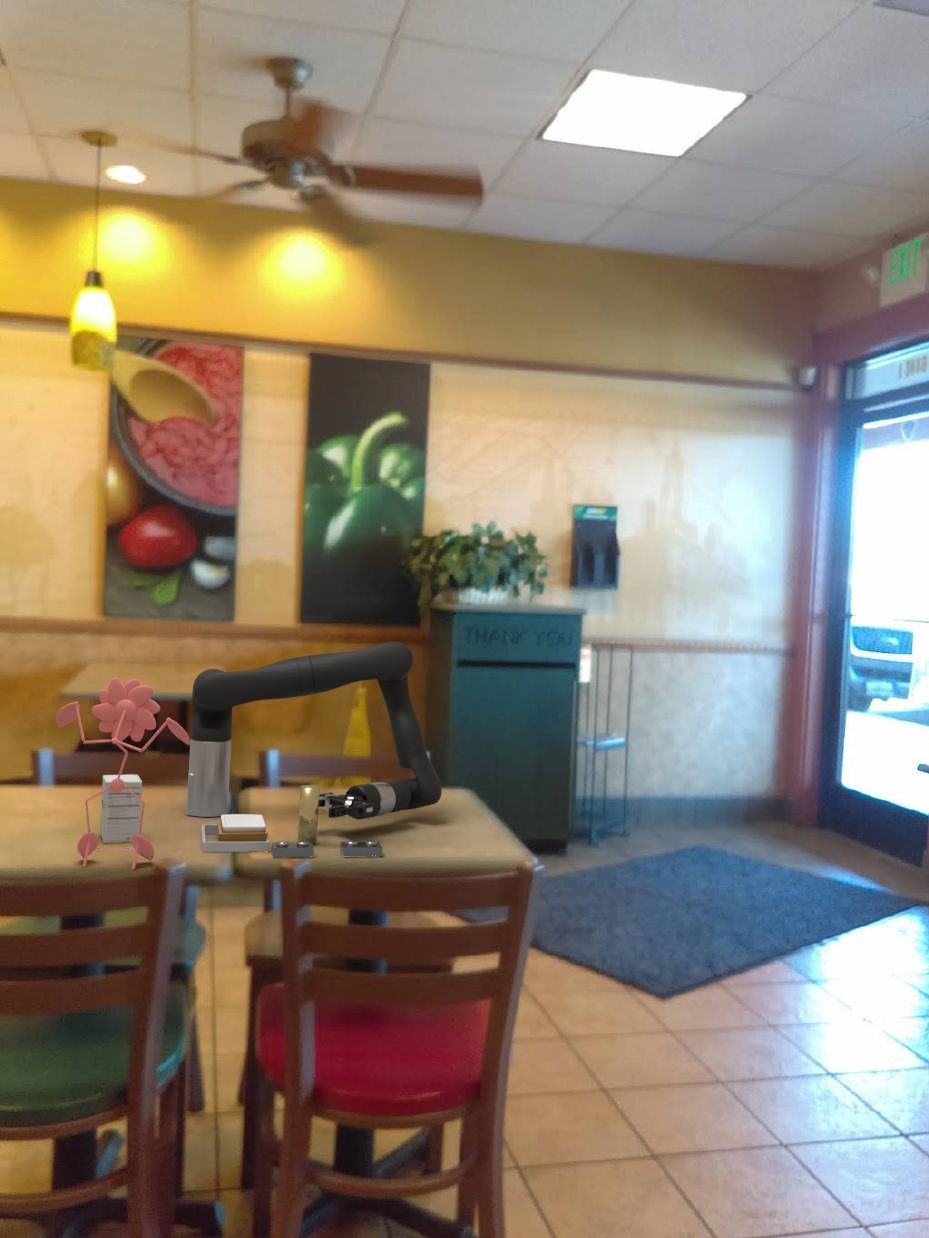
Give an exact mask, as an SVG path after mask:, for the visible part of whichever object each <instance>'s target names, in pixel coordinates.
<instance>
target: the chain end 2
mask: <svg viewBox="0 0 929 1238" xmlns="http://www.w3.org/2000/svg"><path fill="white" fill-rule="evenodd" d="M340 851H341V853H342V855H343V856H372V855H373V856H375V855H376V856H382V857H383V846H382V844H381V843H380V841H377V840H374V839H368V840H365V841H358V840H355V839H354V840H352V839H351V840H350V839H349V840H346V841H340V844H339V852H340ZM341 853H340V854H341ZM342 855H341V856H342ZM343 856H342V857H343Z"/></svg>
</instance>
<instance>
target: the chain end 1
mask: <svg viewBox="0 0 929 1238" xmlns="http://www.w3.org/2000/svg"><path fill="white" fill-rule="evenodd" d="M314 849H315V848H314V845H312V843H311V842H308V841H298V840H297V841H292V842H291V841H287V840H277V841H276V842H275V841H274V842H271V850H270V853H271V852H272V853H271V856H273V857H310V856H313V857H314ZM273 857H272V858H273Z"/></svg>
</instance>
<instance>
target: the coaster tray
mask: <svg viewBox="0 0 929 1238" xmlns="http://www.w3.org/2000/svg"><path fill="white" fill-rule="evenodd" d="M206 835H219V828H218V823H217V824H216V823H215V824H214V823H213V824H212V823H211V824H209V823H208V824H204V823H203V824H201V831H200V837H201V839H200V840H201V853H250V852H249V851H252V852H251V853H254V852H253V851H258V852H257V853H260V852H259V851H262V852H261V853H265V852H264V851H269V852H270V840H269V839H270V838H269V834H268V835H267V838H266V840H265V841H244V842H221V841H206Z"/></svg>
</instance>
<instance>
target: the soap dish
mask: <svg viewBox="0 0 929 1238" xmlns="http://www.w3.org/2000/svg"><path fill="white" fill-rule="evenodd" d="M217 824H218V828H219V834H218V835H219V837H220V842H244V841H265V840H266V838H267V835H268V836H269V831H268V827H267V825H266V822H265V819H264V816H263V815H262V814H254V813H253V814H251V813H250V814H244V813H243V814H242V813H241V814H238V813H236V814H235V813H234V814H233V813H231V814H228V813H227V814H225V815H221V816H220V819H217Z"/></svg>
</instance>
